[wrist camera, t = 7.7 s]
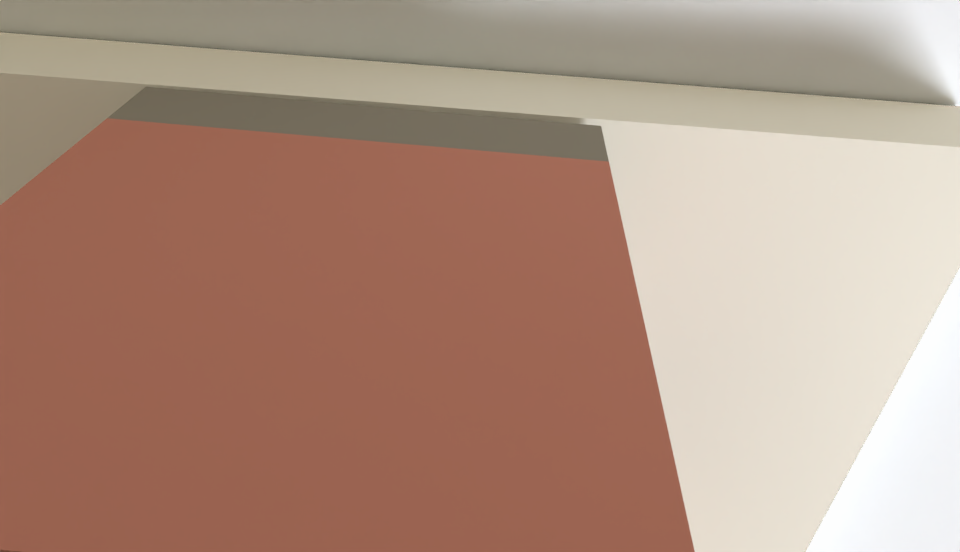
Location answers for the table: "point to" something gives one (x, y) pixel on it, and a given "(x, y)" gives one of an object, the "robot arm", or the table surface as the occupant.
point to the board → (655, 239)
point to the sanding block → (327, 338)
